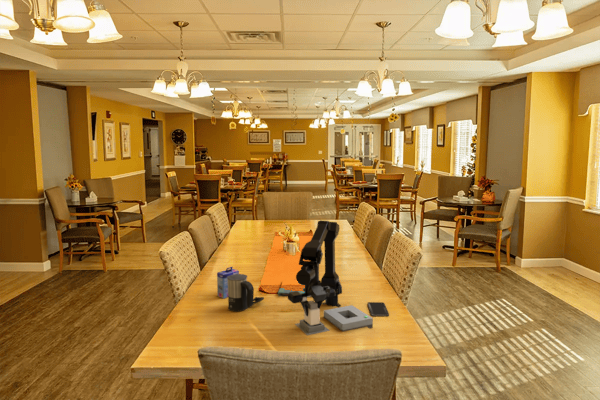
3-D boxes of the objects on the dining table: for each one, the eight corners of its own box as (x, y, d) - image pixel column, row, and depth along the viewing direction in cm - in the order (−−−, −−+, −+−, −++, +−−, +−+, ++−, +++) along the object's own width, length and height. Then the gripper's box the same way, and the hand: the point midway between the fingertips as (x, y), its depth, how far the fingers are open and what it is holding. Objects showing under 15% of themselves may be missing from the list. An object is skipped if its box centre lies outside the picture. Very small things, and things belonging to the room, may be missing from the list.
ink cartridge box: (223, 299, 217) (223, 270, 215) (216, 296, 221) (215, 267, 219) (239, 294, 224) (239, 265, 222) (232, 291, 228) (232, 263, 226)
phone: (371, 314, 195) (367, 302, 210) (371, 317, 195) (367, 304, 210) (389, 314, 195) (384, 302, 210) (389, 317, 195) (384, 304, 210)
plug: (304, 319, 183) (304, 301, 182) (313, 318, 185) (313, 299, 184) (310, 325, 178) (310, 305, 177) (319, 323, 180) (319, 304, 179)
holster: (294, 326, 185) (294, 319, 185) (316, 321, 190) (316, 315, 189) (307, 337, 175) (307, 330, 174) (330, 332, 179) (330, 325, 178)
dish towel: (276, 297, 221) (276, 292, 220) (282, 282, 244) (282, 277, 243) (312, 298, 219) (312, 293, 219) (314, 283, 243) (314, 278, 242)
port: (323, 319, 192) (323, 309, 192) (351, 313, 198) (352, 304, 197) (342, 334, 178) (342, 323, 177) (372, 327, 184) (372, 317, 183)
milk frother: (223, 310, 203) (222, 278, 201) (240, 298, 218) (239, 268, 216) (252, 314, 198) (251, 281, 196) (267, 302, 213) (266, 271, 211)
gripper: (298, 286, 168) (299, 326, 170) (342, 279, 176) (342, 318, 178) (287, 278, 178) (287, 316, 180) (328, 272, 186) (328, 308, 188)
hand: (311, 315), depth 181 cm, fingers closed on plug, 4 cm apart
